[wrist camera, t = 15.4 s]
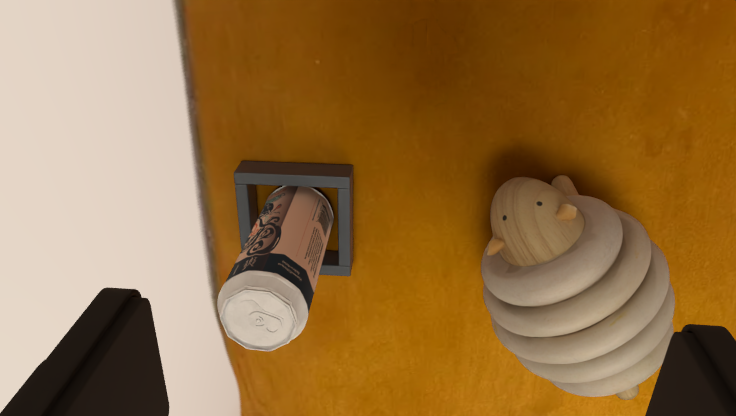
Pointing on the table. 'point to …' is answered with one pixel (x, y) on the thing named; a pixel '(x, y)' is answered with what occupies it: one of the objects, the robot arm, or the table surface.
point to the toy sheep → (576, 288)
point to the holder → (305, 177)
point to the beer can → (277, 270)
